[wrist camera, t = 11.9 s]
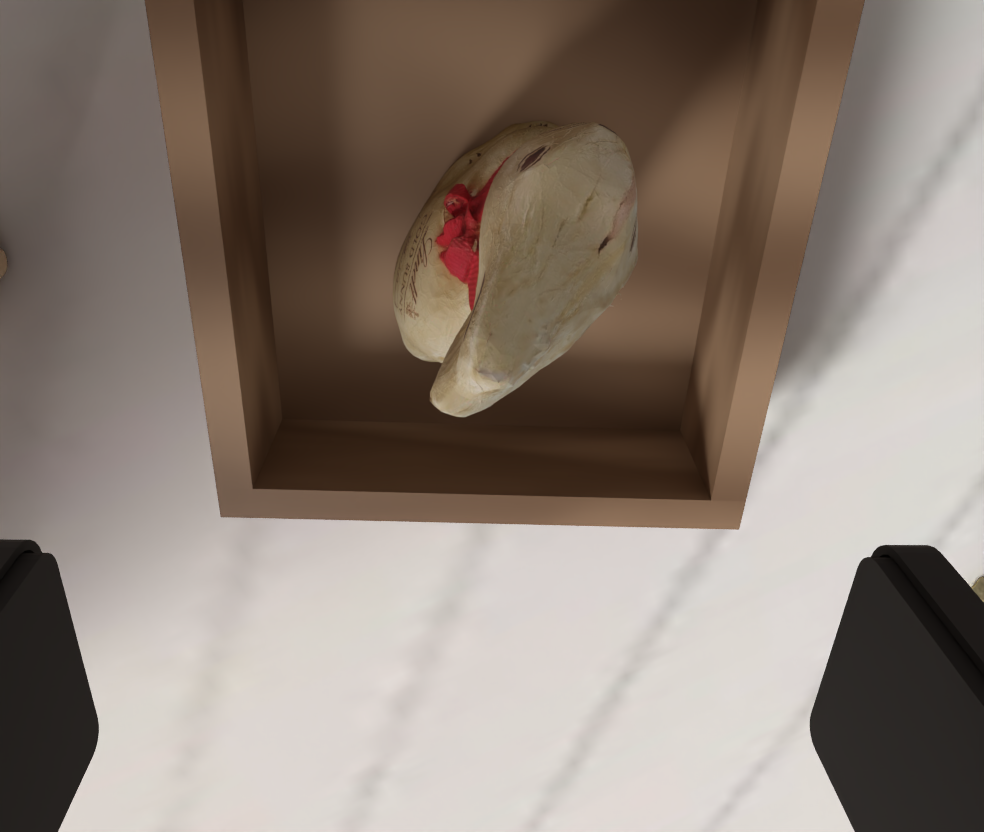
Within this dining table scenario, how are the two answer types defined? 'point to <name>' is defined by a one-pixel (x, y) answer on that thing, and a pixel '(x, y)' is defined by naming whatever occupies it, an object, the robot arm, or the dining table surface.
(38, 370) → the dining table surface
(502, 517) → the box
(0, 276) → the handle
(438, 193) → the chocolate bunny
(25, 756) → the robot arm
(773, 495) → the dining table surface
